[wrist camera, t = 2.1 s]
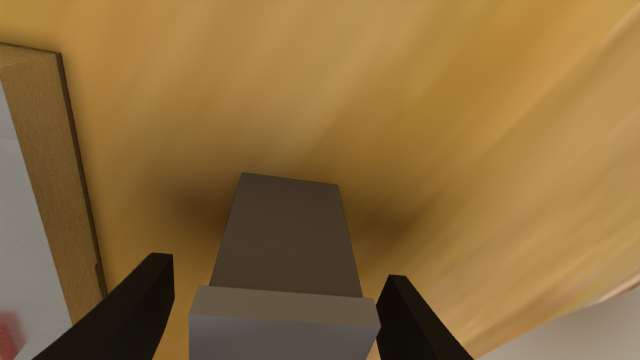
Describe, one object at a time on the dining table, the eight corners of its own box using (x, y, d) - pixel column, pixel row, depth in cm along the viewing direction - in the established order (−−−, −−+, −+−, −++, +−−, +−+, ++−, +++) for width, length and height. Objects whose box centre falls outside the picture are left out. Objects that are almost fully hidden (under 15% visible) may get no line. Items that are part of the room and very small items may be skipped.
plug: (322, 257, 16) (339, 416, 10) (231, 248, 15) (189, 414, 9) (343, 181, 13) (381, 326, 8) (237, 167, 13) (189, 314, 7)
